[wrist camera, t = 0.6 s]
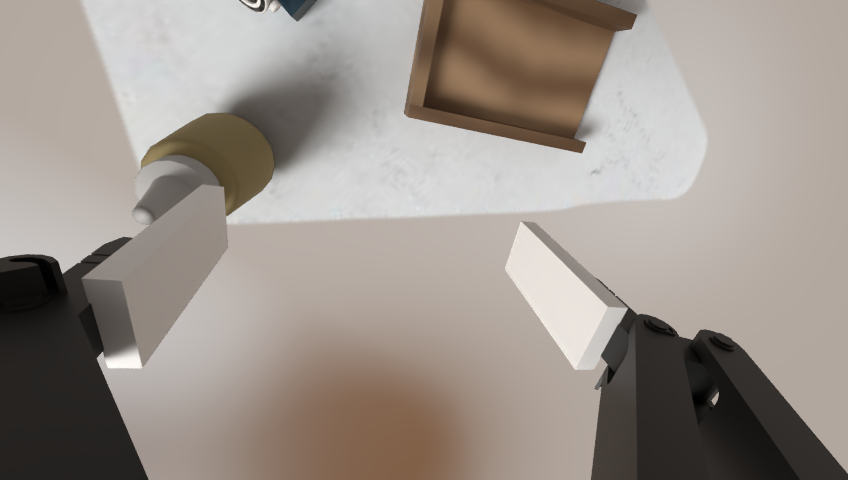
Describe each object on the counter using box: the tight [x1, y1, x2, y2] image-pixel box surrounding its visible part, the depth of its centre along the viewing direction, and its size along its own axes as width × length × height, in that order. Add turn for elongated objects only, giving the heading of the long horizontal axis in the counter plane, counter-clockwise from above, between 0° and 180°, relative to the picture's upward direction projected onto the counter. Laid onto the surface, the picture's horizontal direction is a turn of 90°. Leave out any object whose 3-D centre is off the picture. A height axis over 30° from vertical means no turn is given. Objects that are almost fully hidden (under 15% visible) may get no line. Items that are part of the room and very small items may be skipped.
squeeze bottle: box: [132, 113, 275, 225], centre depth 27 cm, size 8×8×18 cm
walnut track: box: [404, 0, 637, 153], centre depth 34 cm, size 13×20×4 cm
